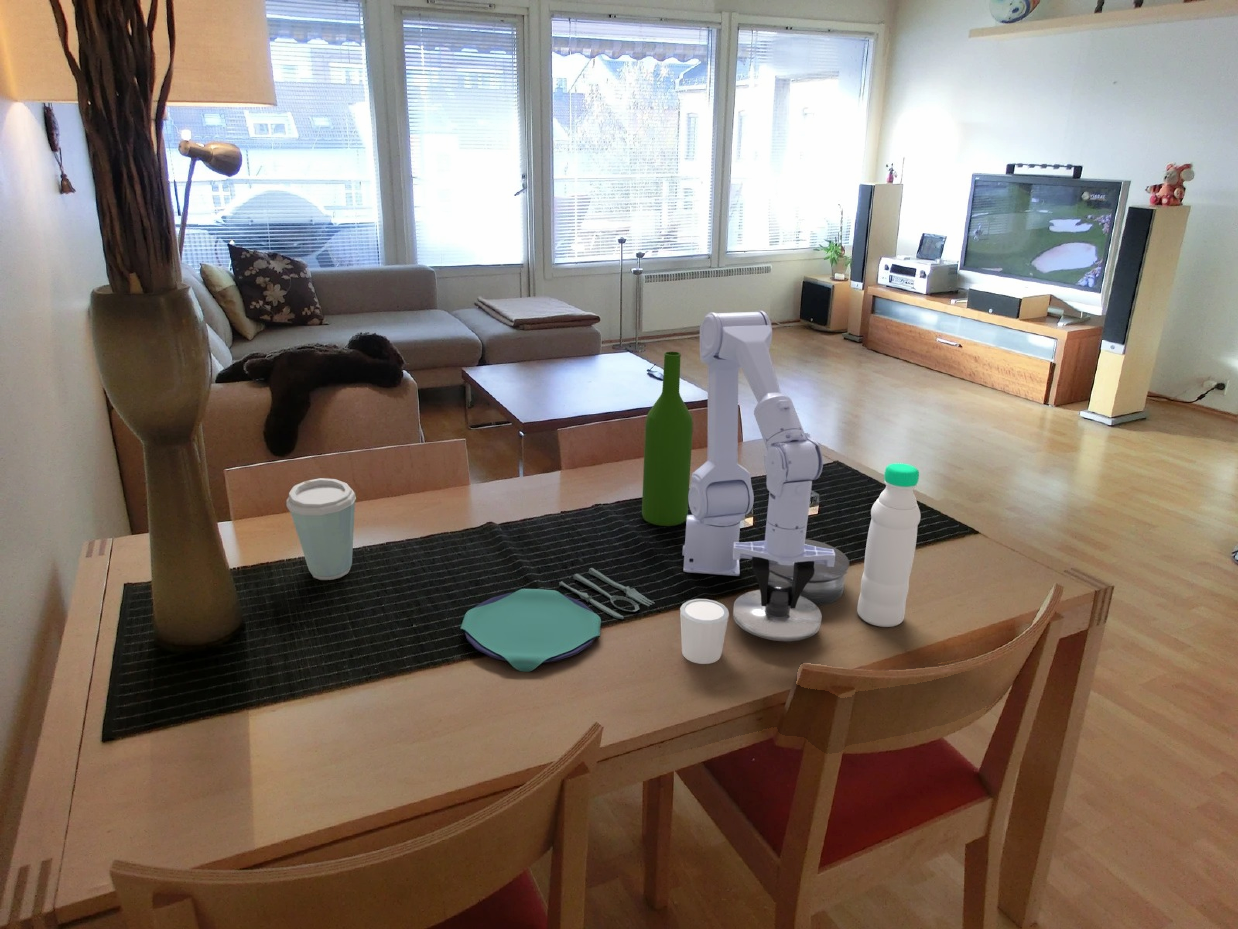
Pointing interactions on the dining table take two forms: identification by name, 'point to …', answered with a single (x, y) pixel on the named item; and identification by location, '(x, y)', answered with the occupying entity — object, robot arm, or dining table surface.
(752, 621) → the steel lid
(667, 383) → the wine bottle
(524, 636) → the cutlery set
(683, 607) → the white cup
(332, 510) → the disposable coffee cup
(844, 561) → the cooking pot
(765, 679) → the dining table surface
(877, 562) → the water bottle
